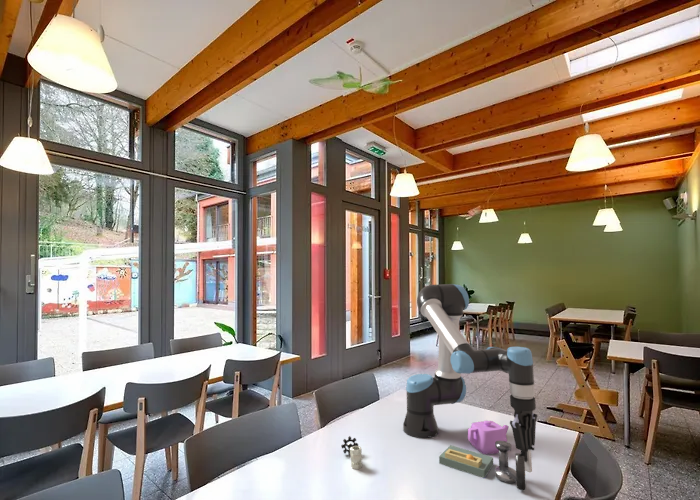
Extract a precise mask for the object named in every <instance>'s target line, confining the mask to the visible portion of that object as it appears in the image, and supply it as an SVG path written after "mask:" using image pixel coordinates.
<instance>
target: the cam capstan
mask: <svg viewBox="0 0 700 500" xmlns="http://www.w3.org/2000/svg"><path fill="white" fill-rule="evenodd" d="M495 447H496V448H497V449H498V450H499V453H498V466H496V467H495V468H494V476H495V478H496V479H497V480H499V481H501V482H503V483H508V484H513V483H516V488H517V489H518V491H519V490H520V491H526V489H527V487H526V471H525V459H524V455H523V454H521V452H520V453H519V452H518V453H517V452H516V453H515V454H514V455H515V456H514V457H515V469H514V468H512V467H510V465H509V451H511V450H512V445H511V443H510V442H509V441H507V442H506V441H496V442H495Z"/></svg>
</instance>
